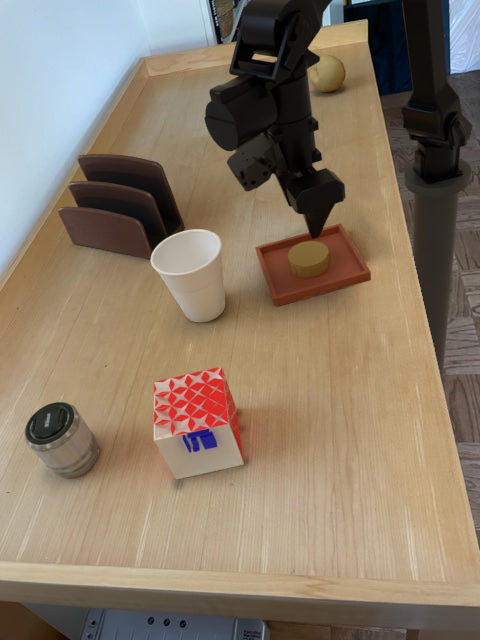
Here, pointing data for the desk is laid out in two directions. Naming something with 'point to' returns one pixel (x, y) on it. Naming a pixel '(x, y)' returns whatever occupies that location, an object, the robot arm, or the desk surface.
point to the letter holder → (121, 205)
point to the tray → (339, 274)
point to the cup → (193, 272)
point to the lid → (308, 259)
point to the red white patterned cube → (197, 423)
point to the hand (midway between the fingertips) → (303, 220)
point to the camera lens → (62, 439)
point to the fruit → (327, 74)
